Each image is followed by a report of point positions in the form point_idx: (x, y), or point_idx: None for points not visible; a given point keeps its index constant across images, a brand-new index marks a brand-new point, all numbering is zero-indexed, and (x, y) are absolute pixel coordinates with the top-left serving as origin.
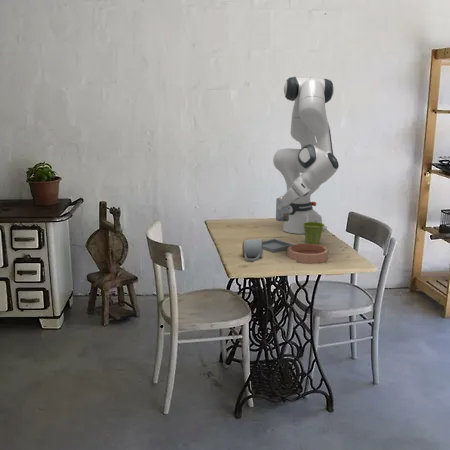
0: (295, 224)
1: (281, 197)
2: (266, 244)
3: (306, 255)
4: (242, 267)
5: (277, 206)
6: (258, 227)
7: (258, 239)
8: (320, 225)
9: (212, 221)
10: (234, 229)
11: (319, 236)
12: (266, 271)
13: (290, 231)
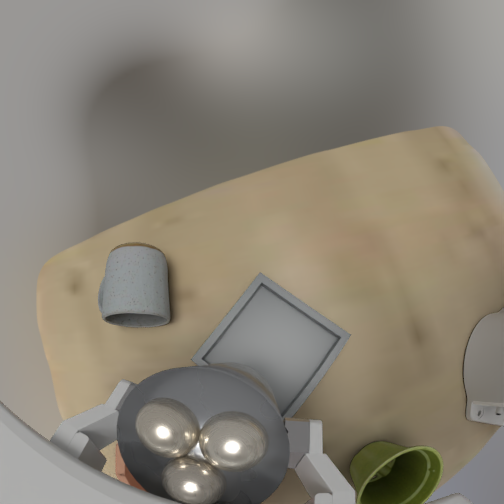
0: (487, 366)
1: (140, 437)
2: (298, 316)
3: (117, 467)
4: (67, 282)
5: (120, 381)
6: (477, 239)
7: (119, 298)
8: (420, 496)
9: (450, 131)
10: (430, 180)
11: (367, 497)
12: (49, 346)
13: (469, 352)
